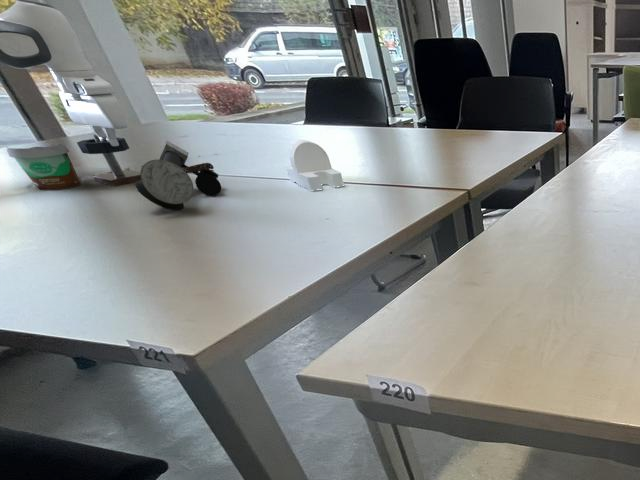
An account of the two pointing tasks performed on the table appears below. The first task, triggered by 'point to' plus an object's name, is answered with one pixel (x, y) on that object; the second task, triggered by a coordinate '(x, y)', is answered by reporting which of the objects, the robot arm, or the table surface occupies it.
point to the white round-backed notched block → (311, 166)
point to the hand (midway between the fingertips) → (111, 145)
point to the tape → (101, 146)
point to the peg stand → (115, 171)
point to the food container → (47, 166)
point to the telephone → (175, 179)
